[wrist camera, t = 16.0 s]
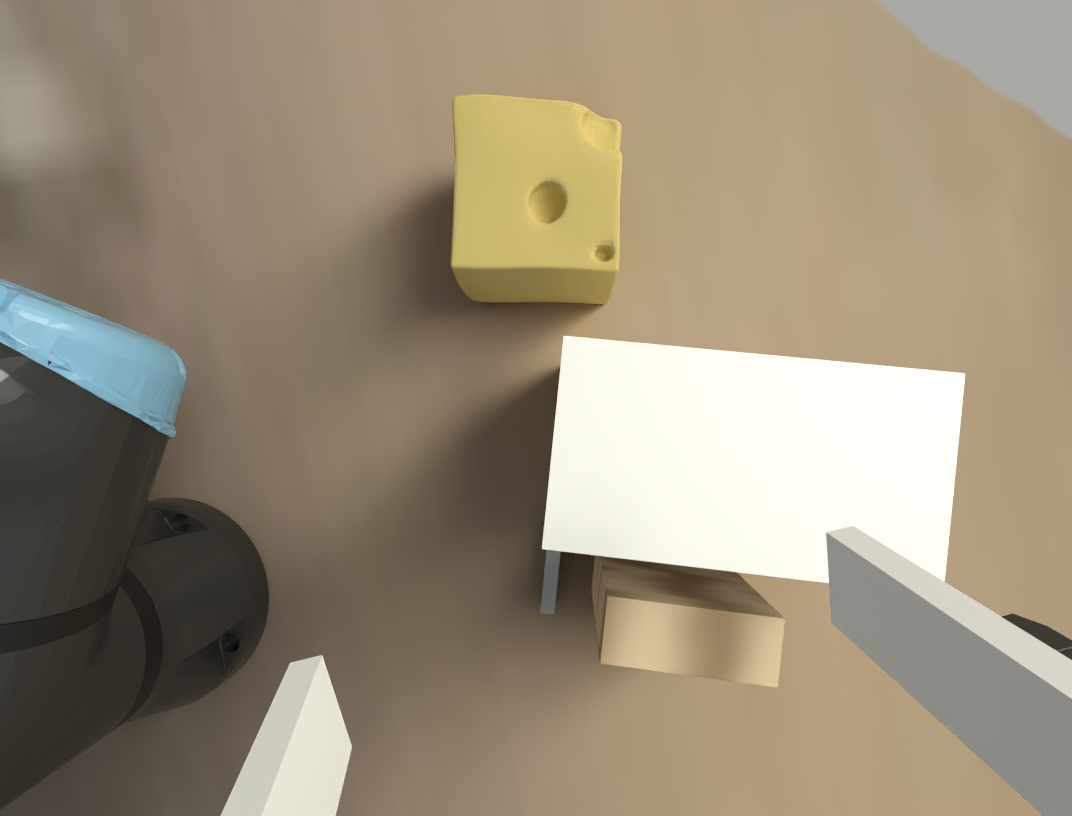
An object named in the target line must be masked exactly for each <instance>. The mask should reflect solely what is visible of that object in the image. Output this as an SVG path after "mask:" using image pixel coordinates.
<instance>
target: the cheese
mask: <svg viewBox="0 0 1072 816" xmlns="http://www.w3.org/2000/svg"><path fill="white" fill-rule="evenodd" d="M453 127H454V146H455V183H454V205H453V229H452V249H451V268H452V271H453V273H454V276H455V278H456V280H457V282H458V284H459V286H460V287H461V289H462V290H463V292H464V293H465V294H466V295H467V296H468V297H469V298H470V299H472V300H474V301H479V302H501V303H518V302H568V303H588V304H606V303H607V302H608V300H609V299H610V297H611V293H612V290H613V287H614V285H615V283H616V279H617V275H618V270H619V223H620V185H621V172H622V154H621V152H620V142H621V133H622V127H621V124H620V123H619V122H618V121H617V120H613V119H607V118H602V117H599V116H597V115H596V114H594V113H593V112H591V111H590V110H588V109H587V108H586V107H584V106H582V105H579V104H576V103H573V102H567V101H558V100H542V99H531V98H520V97H510V96H499V95H481V94H477V95H464V96H456V97H454V98H453Z"/></svg>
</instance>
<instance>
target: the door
mask: <svg viewBox="0 0 1072 816" xmlns="http://www.w3.org/2000/svg"><path fill="white" fill-rule="evenodd" d="M591 591H592V599H593V607H594V616H595V624H596V632H597V641H598V649H599V657H600V664H608V665H615V666H622V667H630V668H637V669H645V670H652V671H659V672H667V673H674V674H682V675H689V676H697V677H704V678H711V679H719V680H726V681H734V682H741V683H748V684H756V685H763V686H771V687H778V680H779V671H780V661H781V651H782V642H783V632H784V623H785V618H784V617H783V616H782V615H781V614H779V613H778V612H777V611H776V610H775V609H774V608H773V607H772V606H771V605H770V604H769V603H768V602H767V601H766V600H765V599H764V598H763V597H762V596H761V595H760V594H758V593H757V592H756V591H755V590H754V589H753V588H752V587H751V586H750V585H749V584H748V583H747V582H746V581H745V580H744V579H743V578H742V577H741V576H740V575H739V574H737V573H736V572H732V571H723V570H715V569H706V568H698V567H689V566H681V565H673V564H664V563H656V562H647V561H639V560H630V559H622V558H614V557H605V556H597V555H595V559H594V569H593V578H592V588H591Z"/></svg>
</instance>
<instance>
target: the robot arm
mask: <svg viewBox="0 0 1072 816" xmlns="http://www.w3.org/2000/svg"><path fill="white" fill-rule="evenodd" d="M185 383H186V369H185V366H184V364H183V361H182V360H181V358H180V357H179V355H178V354H177V353H176V352H175V351H174V350H173V349H171V348H170V347H169V346H167V345H165V344H164V343H161V342H159V341H157V340H155V339H153V338H151V337H149V336H146V335H144V334H142V333H139V332H137V331H134V330H132V329H130V328H127V327H125V326H122V325H120V324H117V323H115V322H112V321H110V320H107V319H105V318H102V317H100V316H97V315H95V314H92V313H90V312H87V311H84V310H82V309H79V308H77V307H74V306H72V305H69V304H66V303H64V302H61V301H58V300H56V299H53V298H51V297H48V296H45V295H43V294H40V293H38V292H35V291H33V290H30V289H27V288H25V287H22V286H20V285H17V284H14V283H12V282H9V281H6V280H4V279H1V278H0V809H2V808H3V807H5V806H6V805H7V804H9V803H10V802H12V801H13V800H14V799H16V798H17V797H19V796H20V795H21V794H23V793H24V792H26V791H27V790H29V789H30V788H31V787H33V786H34V785H36V784H37V783H38V782H40V781H41V780H43V779H44V778H46V777H47V776H48V775H50V774H51V773H53V772H54V771H56V770H57V769H58V768H60V767H61V766H63V765H64V764H66V763H67V762H68V761H70V760H71V759H73V758H74V757H76V756H77V755H78V754H80V753H81V752H83V751H84V750H86V749H87V748H88V747H90V746H91V745H93V744H94V743H96V742H97V741H99V740H100V739H101V738H103V737H104V736H106V735H107V734H108V733H110V732H111V731H112V730H114V729H115V728H117V727H118V726H120V725H121V724H123V723H124V722H127V721H130V720H134V719H137V718H141V717H144V716H148V715H152V714H155V713H159V712H162V711H166V710H169V709H173V708H176V707H180V706H183V705H186V704H188V703H191V702H193V701H195V700H197V699H199V698H201V697H203V696H205V695H206V694H208V693H210V692H211V691H213V690H214V689H215V688H217V687H218V686H219V685H221V684H222V683H223V682H224V681H226V680H227V679H228V678H230V677H231V676H232V675H233V674H235V673H236V672H237V671H238V670H239V669H240V668H241V667H242V666H243V665H244V664H245V663H246V661H247V660H248V659H249V657H250V656H251V654H252V653H253V651H254V650H255V648H256V646H257V644H258V642H259V640H260V638H261V635H262V633H263V630H264V627H265V623H266V618H267V612H268V584H267V578H266V573H265V570H264V566H263V563H262V561H261V558H260V556H259V554H258V552H257V550H256V548H255V546H254V544H253V543H252V541H251V540H250V538H249V537H248V536H247V534H246V533H245V532H244V531H243V530H242V529H241V527H240V526H239V525H237V524H236V523H235V522H234V521H233V520H232V519H231V518H229V517H228V516H227V515H225V514H224V513H222V512H221V511H219V510H217V509H215V508H213V507H211V506H209V505H206V504H204V503H201V502H198V501H194V500H189V499H181V498H165V499H158V500H152V501H148V499H149V496H150V493H151V490H152V487H153V484H154V481H155V479H156V476H157V473H158V470H159V467H160V464H161V461H162V458H163V455H164V452H165V449H166V446H167V443H168V440H169V438H170V439H172V438H175V436H176V431H177V430H176V428H175V427H174V423H175V419H176V416H177V412H178V408H179V405H180V401H181V398H182V394H183V391H184V387H185ZM826 540H827V557H828V573H829V589H830V606H831V622H832V624H834V625H835V626H836V627H837V628H838V629H839V630H840V631H841V632H842V633H843V634H845V635H846V636H847V637H848V638H849V639H850V640H851V641H852V642H853V643H854V644H856V645H857V646H858V647H859V648H860V649H861V650H862V651H863V652H864V653H865V654H866V655H868V656H869V657H870V658H871V659H872V660H873V661H874V662H875V663H876V664H877V665H879V666H880V667H881V668H882V669H883V670H884V671H885V672H886V673H887V674H888V675H890V676H891V677H892V678H893V679H894V680H895V681H896V682H897V683H898V684H899V685H900V686H902V687H903V688H904V689H905V690H906V691H907V692H908V693H909V694H910V695H911V696H913V697H914V698H915V699H916V700H917V701H918V702H919V703H920V704H921V705H922V706H923V707H925V708H926V709H927V710H928V711H929V712H930V713H931V714H932V715H933V716H934V717H936V718H937V719H938V720H939V721H940V722H941V723H942V724H943V725H944V726H945V727H947V728H948V729H949V730H950V731H951V732H952V733H953V734H954V735H955V736H956V737H957V738H959V739H960V740H961V741H962V742H963V743H964V744H965V745H966V746H967V747H968V748H970V749H971V750H972V751H973V752H974V753H975V754H976V755H977V756H978V757H979V758H980V759H982V760H983V761H984V762H985V763H986V764H987V765H988V766H989V767H990V768H991V769H993V770H994V771H995V772H996V773H997V774H998V775H999V776H1000V777H1001V778H1002V779H1004V780H1005V781H1006V782H1007V783H1008V784H1009V785H1010V786H1011V787H1012V788H1013V789H1014V790H1016V791H1017V792H1018V793H1019V794H1020V795H1021V796H1022V797H1023V798H1024V799H1025V800H1027V801H1028V802H1029V803H1030V804H1031V805H1032V806H1033V807H1034V808H1035V809H1036V810H1038V811H1039V812H1040V813H1041V814H1042V815H1043V816H1072V640H1070V639H1068V638H1067V637H1065V636H1063V635H1061V634H1060V633H1058V632H1056V631H1055V630H1053V629H1051V628H1049V627H1048V626H1045V625H1042V624H1040V623H1037V622H1034V621H1031V620H1029V619H1026V618H1023V617H1020V616H1018V615H1015V614H1010V615H1006V616H1002V617H1001V616H999V615H997V614H996V613H994V612H993V611H991V610H989V609H988V608H986V607H984V606H983V605H981V604H980V603H978V602H976V601H975V600H973V599H971V598H970V597H968V596H967V595H965V594H963V593H962V592H960V591H958V590H957V589H955V588H954V587H952V586H950V585H949V584H947V583H945V582H944V581H942V580H940V579H939V578H937V577H936V576H934V575H932V574H931V573H929V572H927V571H926V570H924V569H923V568H921V567H919V566H918V565H916V564H914V563H913V562H911V561H910V560H908V559H906V558H905V557H903V556H901V555H900V554H898V553H897V552H895V551H893V550H892V549H890V548H888V547H887V546H885V545H884V544H882V543H880V542H879V541H877V540H875V539H874V538H872V537H871V536H869V535H867V534H866V533H864V532H862V531H861V530H859V529H857V528H856V527H854V526H850V527H846V528H842V529H837V530H833V531H829V532H826ZM351 749H352V745H351V742H350V739H349V736H348V733H347V730H346V727H345V724H344V721H343V718H342V715H341V711H340V708H339V705H338V702H337V699H336V696H335V693H334V690H333V687H332V684H331V681H330V678H329V674H328V671H327V668H326V665H325V662H324V659H323V656H322V655H320V656H316V657H312V658H308V659H304V660H300V661H296V662H291V663H290V664H289V666H288V669H287V671H286V673H285V675H284V677H283V680H282V682H281V684H280V686H279V688H278V691H277V693H276V695H275V697H274V699H273V702H272V704H271V706H270V708H269V710H268V713H267V715H266V717H265V719H264V721H263V724H262V726H261V728H260V730H259V732H258V735H257V737H256V739H255V741H254V743H253V746H252V748H251V750H250V752H249V754H248V757H247V759H246V761H245V763H244V765H243V768H242V770H241V772H240V774H239V776H238V779H237V781H236V783H235V785H234V787H233V790H232V792H231V794H230V796H229V798H228V801H227V803H226V805H225V807H224V809H223V812H222V814H221V816H336V812H337V808H338V804H339V799H340V795H341V791H342V787H343V783H344V778H345V774H346V770H347V766H348V762H349V757H350V753H351Z"/></svg>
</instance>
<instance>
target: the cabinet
mask: <svg viewBox="0 0 1072 816" xmlns="http://www.w3.org/2000/svg"><path fill="white" fill-rule="evenodd" d="M964 382H965V373H956V372H945V371H934V370H924V369H913V368H902V367H892V366H881V365H870V364H860V363H849V362H838V361H828V360H817V359H806V358H796V357H785V356H774V355H764V354H753V353H742V352H732V351H721V350H710V349H700V348H689V347H678V346H668V345H657V344H646V343H636V342H625V341H614V340H604V339H593V338H582V337H572V336H564V337H563V347H562V357H561V367H560V376H559V386H558V396H557V406H556V415H555V425H554V435H553V445H552V454H551V464H550V474H549V484H548V493H547V503H546V513H545V523H544V532H543V542H542V549H546V550H547V551H546V560H545V570H544V580H543V590H542V599H541V609H540V613H543V614H551V615H554V612H555V603H556V593H557V583H558V573H559V564H560V554H561V551H563V552H571V553H580V554H588V555H597V556H605V557H614V558H622V559H630V560H639V561H647V562H656V563H664V564H673V565H681V566H689V567H698V568H706V569H715V570H723V571H732V572H740V573H748V574H757V575H765V576H774V577H782V578H791V579H799V580H807V581H816V582H824V583H829V573H828V557H827V540H826V532H829V531H833V530H837V529H842V528H846V527H850V526H854V527H856V528H857V529H859V530H861V531H862V532H864V533H866V534H867V535H869V536H871V537H872V538H874V539H875V540H877V541H879V542H880V543H882V544H884V545H885V546H887V547H888V548H890V549H892V550H893V551H895V552H897V553H898V554H900V555H901V556H903V557H905V558H906V559H908V560H910V561H911V562H913V563H914V564H916V565H918V566H919V567H921V568H923V569H924V570H926V571H927V572H929V573H931V574H932V575H934V576H936V577H937V578H939V579H940V580H942V581H944V582H945V573H946V563H947V553H948V543H949V533H950V523H951V512H952V502H953V492H954V482H955V472H956V462H957V452H958V442H959V432H960V422H961V412H962V402H963V392H964Z"/></svg>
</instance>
